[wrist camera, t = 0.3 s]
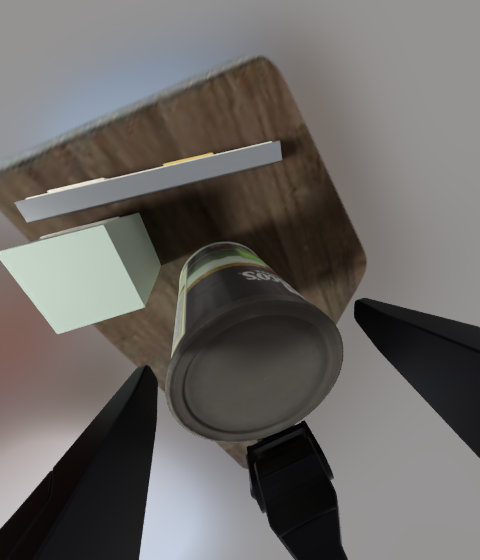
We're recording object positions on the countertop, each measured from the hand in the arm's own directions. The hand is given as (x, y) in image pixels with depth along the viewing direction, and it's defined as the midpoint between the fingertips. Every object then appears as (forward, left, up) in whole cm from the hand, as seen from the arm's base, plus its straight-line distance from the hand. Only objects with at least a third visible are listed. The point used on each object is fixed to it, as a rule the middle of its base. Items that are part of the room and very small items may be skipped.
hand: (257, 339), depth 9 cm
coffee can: (-4, 0, -16) cm, 16 cm away
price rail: (+8, +3, -15) cm, 17 cm away
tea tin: (+3, +9, -15) cm, 18 cm away
